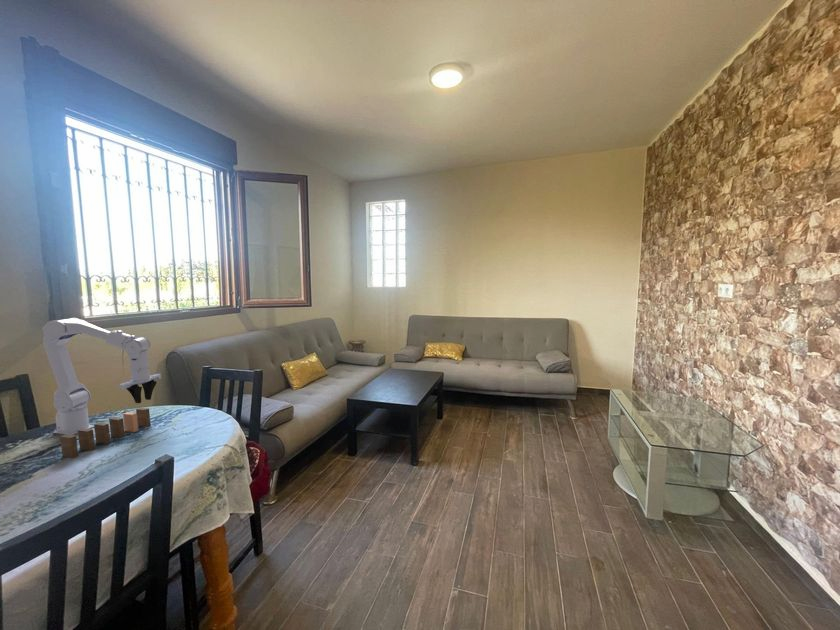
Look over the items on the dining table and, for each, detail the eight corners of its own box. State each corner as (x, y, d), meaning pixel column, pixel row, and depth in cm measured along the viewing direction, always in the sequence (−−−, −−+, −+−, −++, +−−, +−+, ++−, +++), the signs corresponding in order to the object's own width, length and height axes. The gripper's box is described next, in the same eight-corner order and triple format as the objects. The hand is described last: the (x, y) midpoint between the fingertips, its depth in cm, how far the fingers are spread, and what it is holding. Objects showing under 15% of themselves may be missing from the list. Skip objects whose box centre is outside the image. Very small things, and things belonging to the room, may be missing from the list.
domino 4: (120, 437, 125) (118, 420, 124) (111, 436, 126) (109, 418, 125) (124, 436, 127) (123, 418, 126) (115, 434, 128) (113, 417, 127)
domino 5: (146, 426, 134) (144, 410, 133) (137, 425, 135) (136, 409, 135) (150, 425, 136) (149, 408, 135) (141, 424, 137) (140, 407, 136)
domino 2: (89, 450, 116) (87, 431, 115) (80, 449, 117) (77, 430, 116) (95, 448, 117) (92, 429, 116) (85, 447, 118) (83, 428, 118)
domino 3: (105, 444, 120) (103, 425, 120) (96, 442, 121) (93, 424, 121) (110, 442, 122) (108, 423, 121) (101, 440, 123) (99, 422, 122)
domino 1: (72, 458, 111) (70, 438, 110) (62, 456, 112) (59, 436, 111) (78, 455, 113) (76, 435, 112) (68, 453, 114) (66, 434, 113)
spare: (134, 432, 130) (132, 414, 129) (124, 430, 131) (122, 413, 130) (138, 430, 131) (136, 413, 130) (129, 429, 132) (127, 412, 131)
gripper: (127, 373, 125) (131, 408, 127) (165, 364, 139) (168, 395, 141) (113, 372, 127) (117, 407, 129) (152, 363, 141) (155, 394, 143)
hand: (143, 401), depth 135 cm, fingers open, 3 cm apart
